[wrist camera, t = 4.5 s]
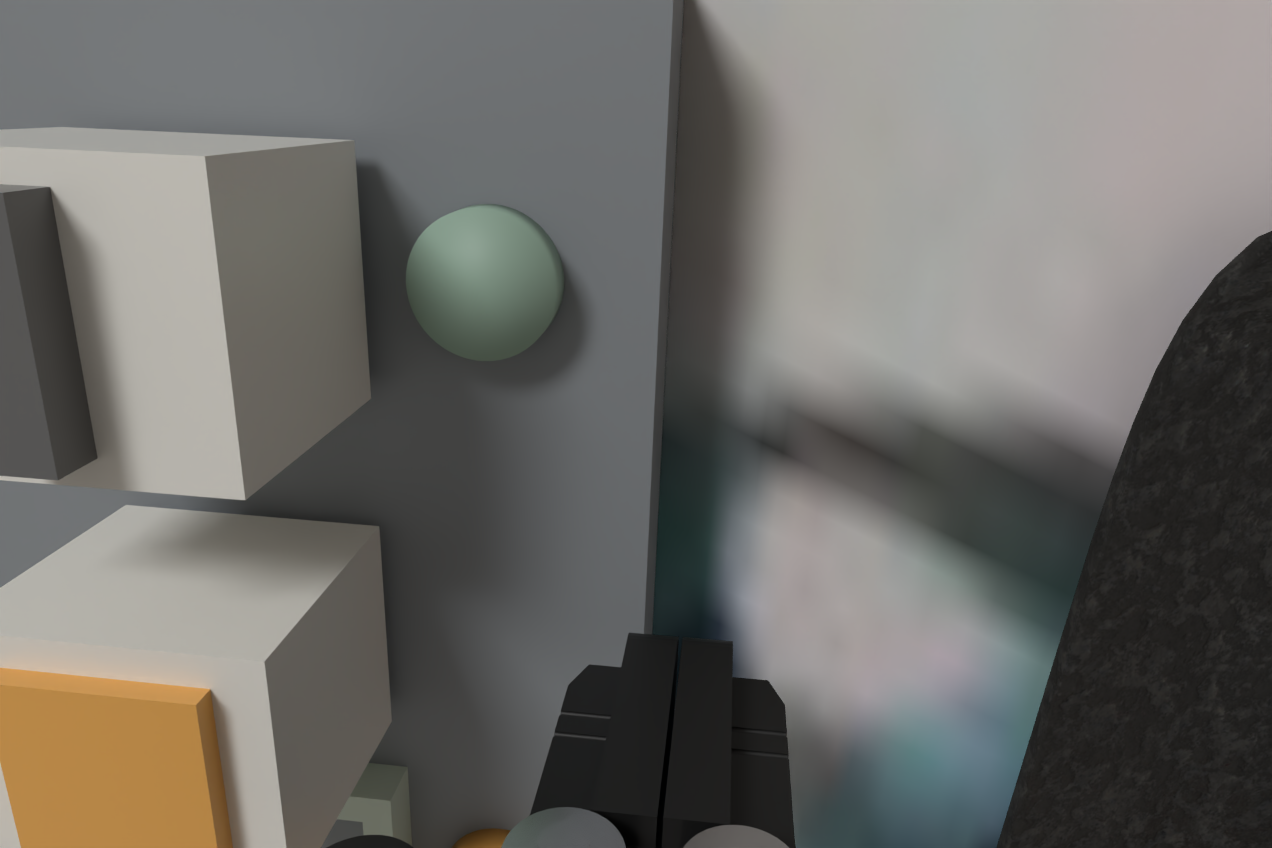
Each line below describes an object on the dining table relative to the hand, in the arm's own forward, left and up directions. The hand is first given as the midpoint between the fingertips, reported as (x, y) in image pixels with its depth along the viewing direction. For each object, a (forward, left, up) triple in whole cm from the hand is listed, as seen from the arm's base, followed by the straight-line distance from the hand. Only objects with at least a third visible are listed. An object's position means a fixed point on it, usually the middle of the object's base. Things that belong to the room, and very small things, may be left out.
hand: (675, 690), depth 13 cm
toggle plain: (+7, -6, -1) cm, 9 cm away
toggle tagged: (+7, 0, -1) cm, 7 cm away
